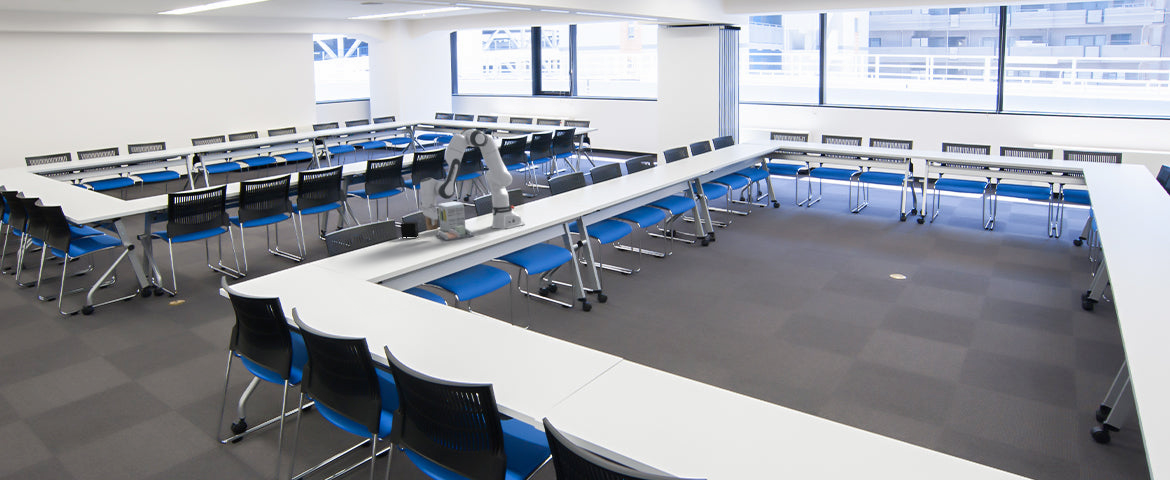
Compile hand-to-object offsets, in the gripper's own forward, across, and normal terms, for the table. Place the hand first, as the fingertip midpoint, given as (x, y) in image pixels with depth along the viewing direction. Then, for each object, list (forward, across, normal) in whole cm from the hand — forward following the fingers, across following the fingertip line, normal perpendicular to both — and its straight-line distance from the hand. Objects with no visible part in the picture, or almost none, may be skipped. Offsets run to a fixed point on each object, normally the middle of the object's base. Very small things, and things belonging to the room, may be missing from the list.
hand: (431, 224), depth 485 cm
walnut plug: (+3, 0, 0) cm, 3 cm away
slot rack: (+10, -1, -14) cm, 18 cm away
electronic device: (+10, +15, +11) cm, 21 cm away
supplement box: (+11, +20, -20) cm, 30 cm away
